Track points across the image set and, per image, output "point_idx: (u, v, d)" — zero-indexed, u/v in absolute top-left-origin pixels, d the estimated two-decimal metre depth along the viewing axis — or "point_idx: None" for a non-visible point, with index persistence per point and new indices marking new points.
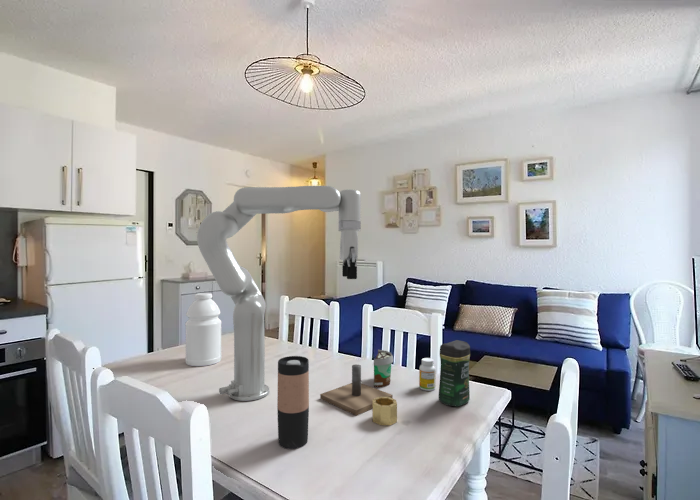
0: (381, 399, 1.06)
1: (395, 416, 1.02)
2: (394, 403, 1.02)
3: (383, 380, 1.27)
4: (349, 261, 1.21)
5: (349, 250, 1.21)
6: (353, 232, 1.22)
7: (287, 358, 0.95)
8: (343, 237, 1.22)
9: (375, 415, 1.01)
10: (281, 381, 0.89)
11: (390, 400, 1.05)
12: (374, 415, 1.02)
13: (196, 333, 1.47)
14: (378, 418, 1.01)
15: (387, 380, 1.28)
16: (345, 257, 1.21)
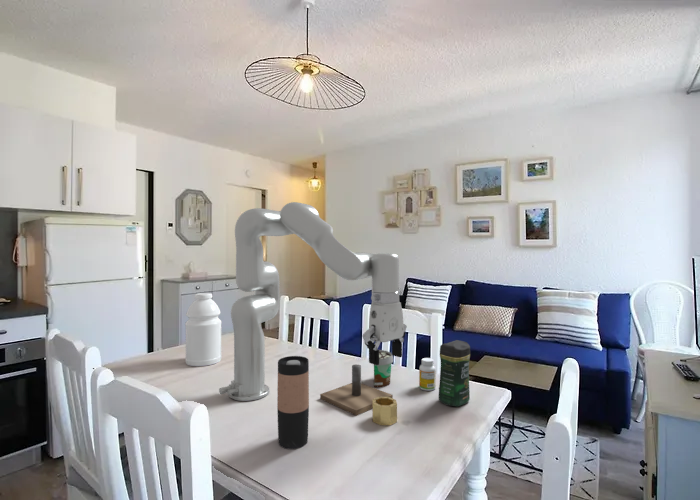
0: (381, 399, 1.06)
1: (395, 416, 1.02)
2: (394, 403, 1.02)
3: (383, 380, 1.27)
4: (400, 336, 1.06)
5: None
6: None
7: (287, 358, 0.95)
8: (400, 310, 1.04)
9: (375, 415, 1.01)
10: (281, 381, 0.89)
11: (390, 400, 1.05)
12: (374, 415, 1.02)
13: (196, 333, 1.47)
14: (378, 418, 1.01)
15: (387, 380, 1.28)
16: None
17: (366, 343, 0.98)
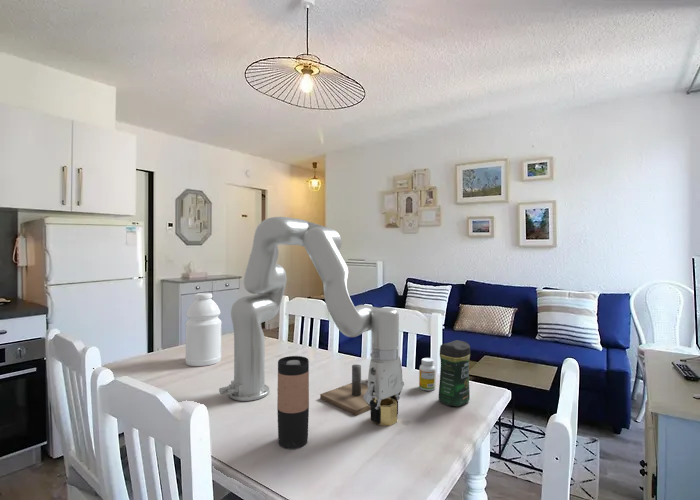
0: None
1: (395, 416, 1.02)
2: (394, 403, 1.02)
3: None
4: (397, 393, 1.06)
5: None
6: None
7: (287, 358, 0.95)
8: (399, 365, 1.04)
9: None
10: (281, 381, 0.89)
11: (390, 400, 1.05)
12: None
13: (196, 333, 1.47)
14: None
15: None
16: None
17: (368, 402, 0.99)
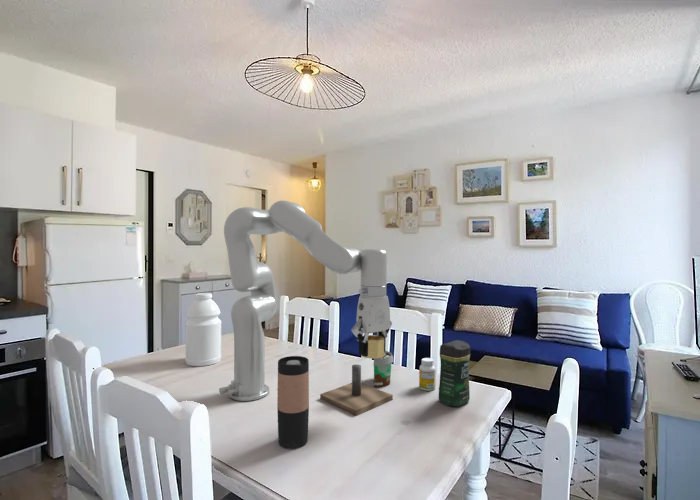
0: (370, 337, 1.11)
1: (382, 351, 1.07)
2: (381, 339, 1.07)
3: (383, 380, 1.27)
4: None
5: None
6: None
7: (287, 358, 0.95)
8: (387, 304, 1.09)
9: None
10: (281, 381, 0.89)
11: (378, 337, 1.10)
12: None
13: (196, 333, 1.47)
14: None
15: (387, 380, 1.28)
16: None
17: (356, 335, 1.04)
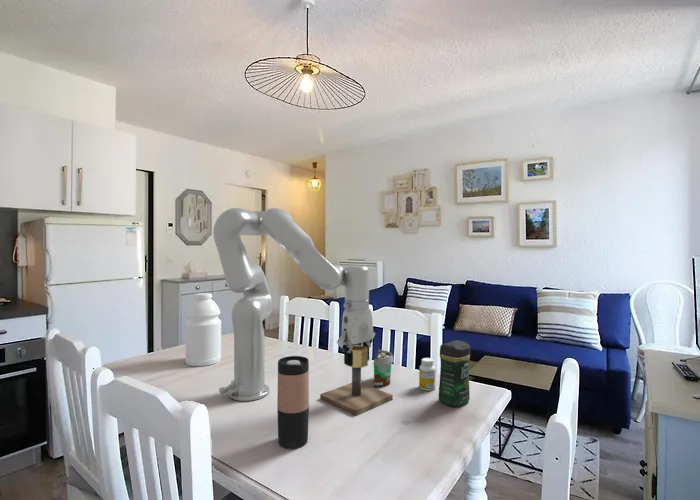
0: (354, 347, 1.19)
1: (366, 360, 1.15)
2: (365, 349, 1.16)
3: (383, 380, 1.27)
4: None
5: None
6: None
7: (287, 358, 0.95)
8: (369, 316, 1.17)
9: None
10: (281, 381, 0.89)
11: (362, 347, 1.19)
12: None
13: (196, 333, 1.47)
14: None
15: (387, 380, 1.28)
16: None
17: (341, 347, 1.12)
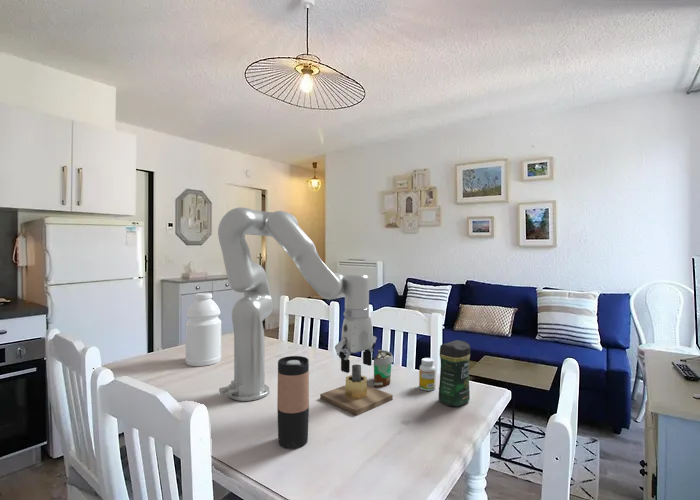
0: None
1: (365, 391, 1.15)
2: (364, 379, 1.16)
3: (383, 380, 1.27)
4: None
5: None
6: None
7: (287, 358, 0.95)
8: (369, 324, 1.17)
9: (348, 390, 1.15)
10: (281, 381, 0.89)
11: (361, 377, 1.19)
12: (347, 390, 1.15)
13: (196, 333, 1.47)
14: (350, 392, 1.14)
15: (387, 380, 1.28)
16: None
17: (338, 353, 1.12)
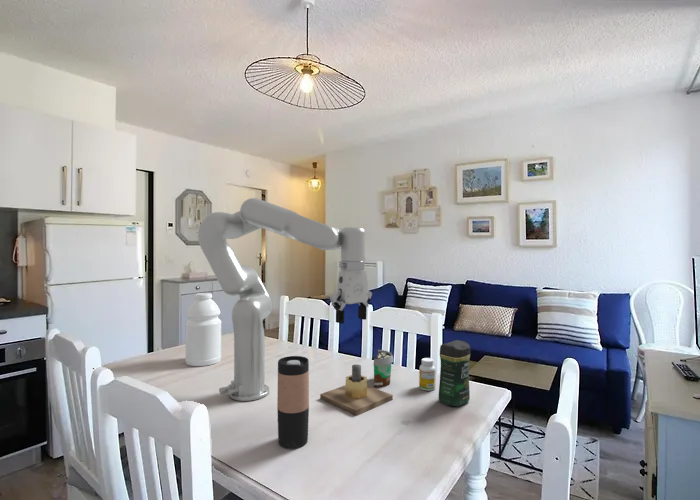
0: None
1: (365, 391, 1.15)
2: (364, 379, 1.16)
3: (383, 380, 1.27)
4: (365, 301, 1.21)
5: None
6: None
7: (287, 358, 0.95)
8: (365, 278, 1.18)
9: (348, 390, 1.15)
10: (281, 381, 0.89)
11: (361, 377, 1.19)
12: (347, 390, 1.15)
13: (196, 333, 1.47)
14: (350, 392, 1.14)
15: (387, 380, 1.28)
16: None
17: (333, 304, 1.13)
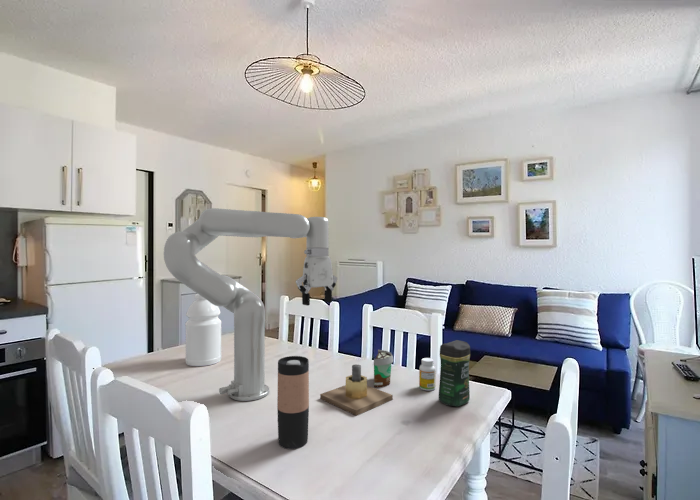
0: None
1: (365, 391, 1.15)
2: (364, 379, 1.16)
3: (383, 380, 1.27)
4: None
5: None
6: None
7: (287, 358, 0.95)
8: (329, 263, 1.28)
9: (348, 390, 1.15)
10: (281, 381, 0.89)
11: (361, 377, 1.19)
12: (347, 390, 1.15)
13: (196, 333, 1.47)
14: (350, 392, 1.14)
15: (387, 380, 1.28)
16: None
17: (299, 287, 1.22)
